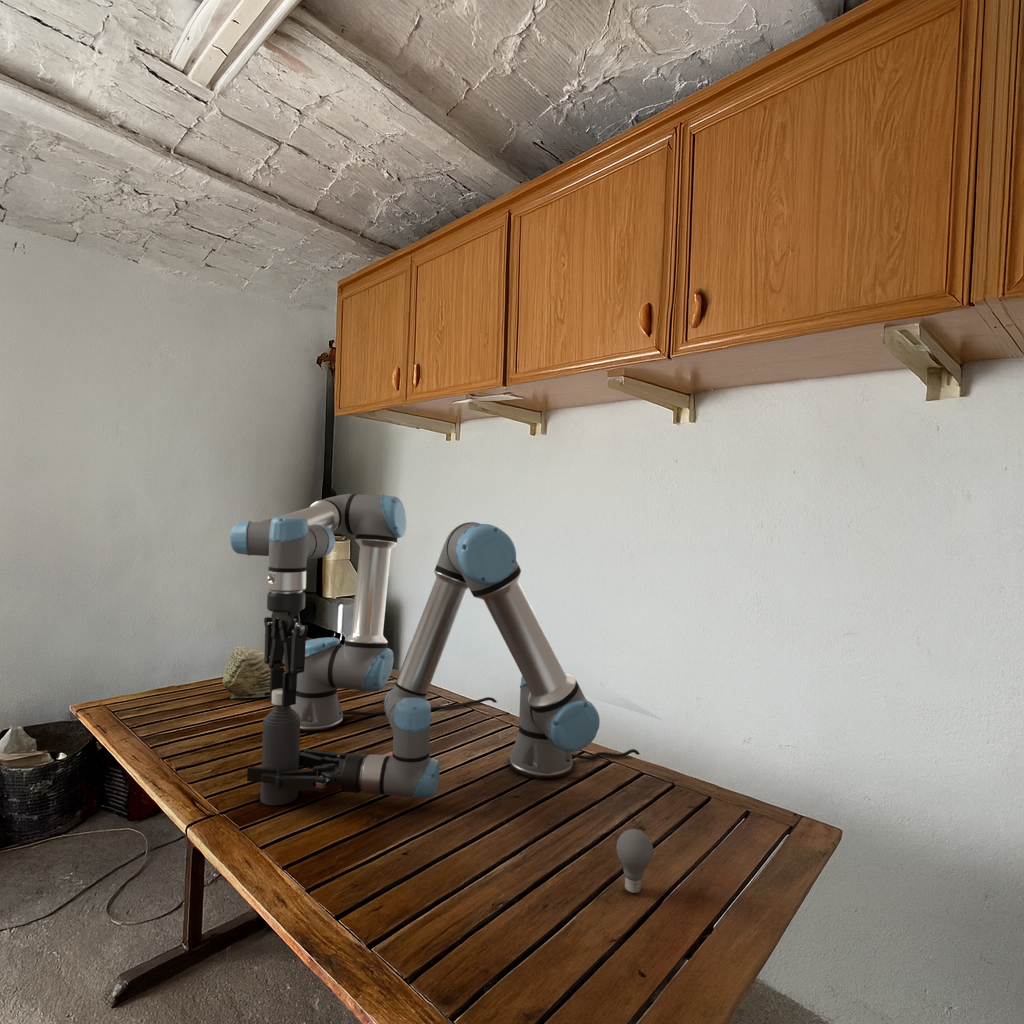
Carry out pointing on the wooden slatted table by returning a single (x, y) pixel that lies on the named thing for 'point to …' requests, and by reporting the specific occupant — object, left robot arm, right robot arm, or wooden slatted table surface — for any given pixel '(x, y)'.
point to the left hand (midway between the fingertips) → (282, 701)
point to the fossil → (247, 674)
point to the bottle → (280, 751)
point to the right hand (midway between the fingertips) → (257, 765)
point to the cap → (277, 696)
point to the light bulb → (634, 857)
